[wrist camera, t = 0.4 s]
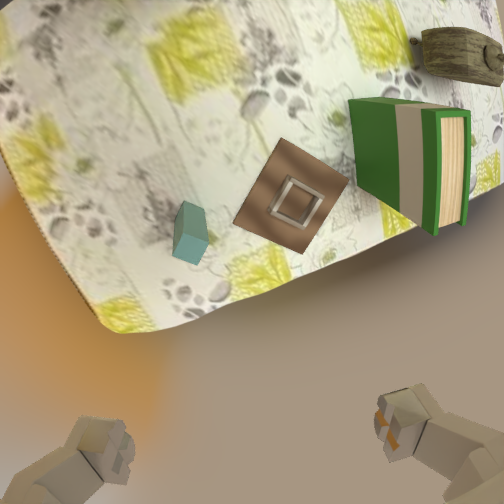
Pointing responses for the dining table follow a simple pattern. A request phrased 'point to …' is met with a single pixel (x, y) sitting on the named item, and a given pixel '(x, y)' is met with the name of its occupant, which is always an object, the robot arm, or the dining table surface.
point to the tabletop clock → (462, 55)
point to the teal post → (190, 234)
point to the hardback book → (414, 158)
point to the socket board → (291, 197)
